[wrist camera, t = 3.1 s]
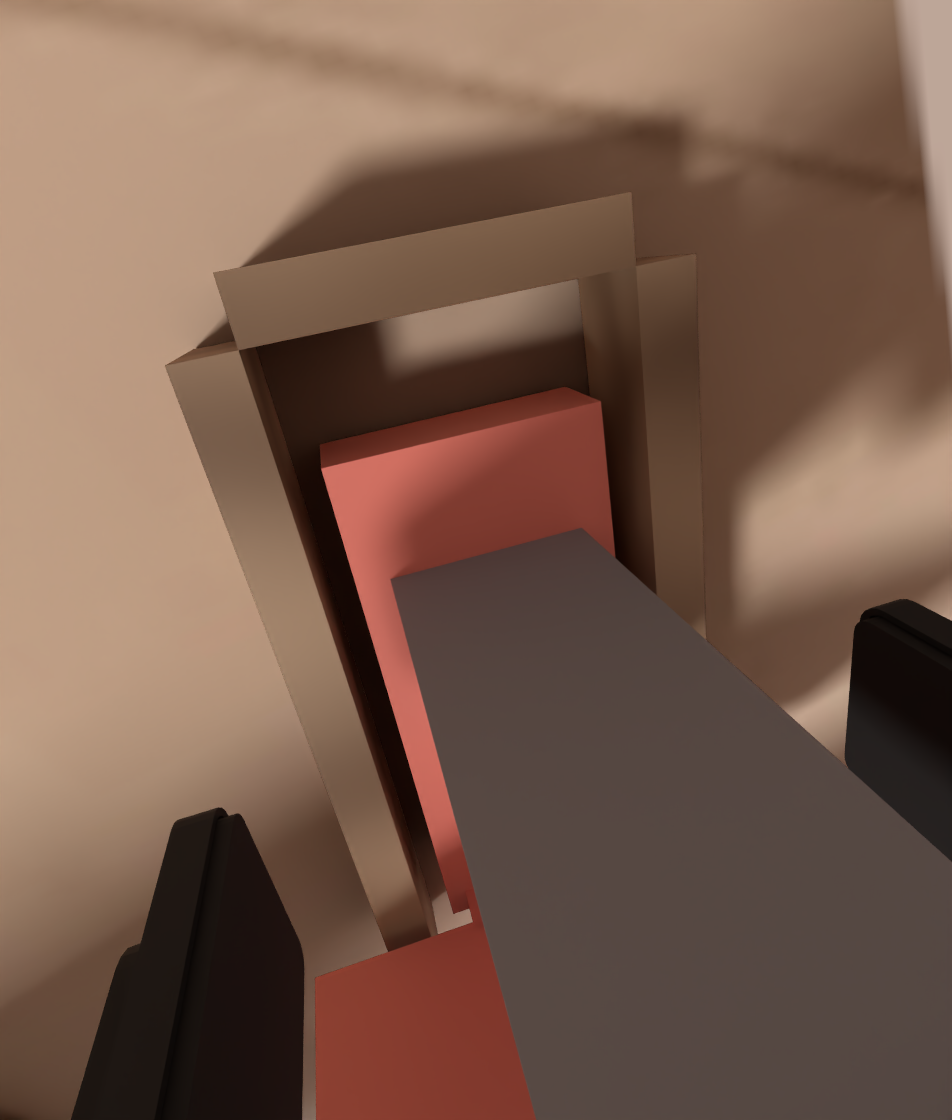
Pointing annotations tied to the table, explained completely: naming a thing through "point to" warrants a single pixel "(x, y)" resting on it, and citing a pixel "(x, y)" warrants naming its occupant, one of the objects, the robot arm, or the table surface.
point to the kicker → (610, 826)
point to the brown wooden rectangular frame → (280, 512)
